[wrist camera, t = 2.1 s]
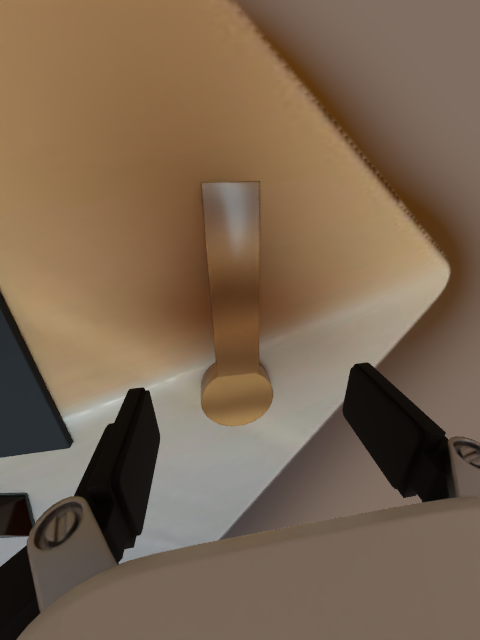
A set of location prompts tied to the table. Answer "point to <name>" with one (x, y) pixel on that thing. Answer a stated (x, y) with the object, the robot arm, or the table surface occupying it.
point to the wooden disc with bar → (234, 304)
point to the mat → (24, 398)
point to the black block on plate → (15, 516)
